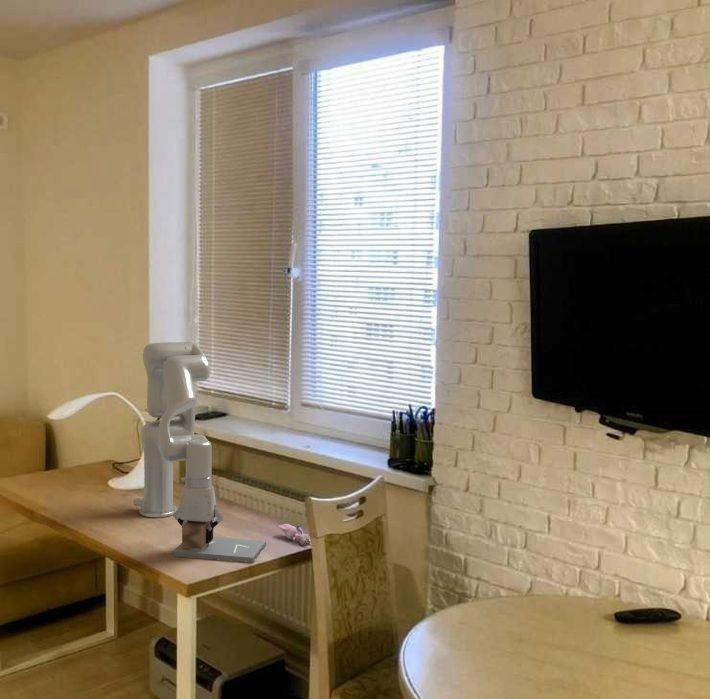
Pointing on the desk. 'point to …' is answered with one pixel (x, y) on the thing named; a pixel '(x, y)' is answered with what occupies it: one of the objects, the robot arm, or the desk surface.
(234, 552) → the slate board
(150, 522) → the desk surface
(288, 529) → the pink plastic figure
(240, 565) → the desk surface
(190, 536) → the block
